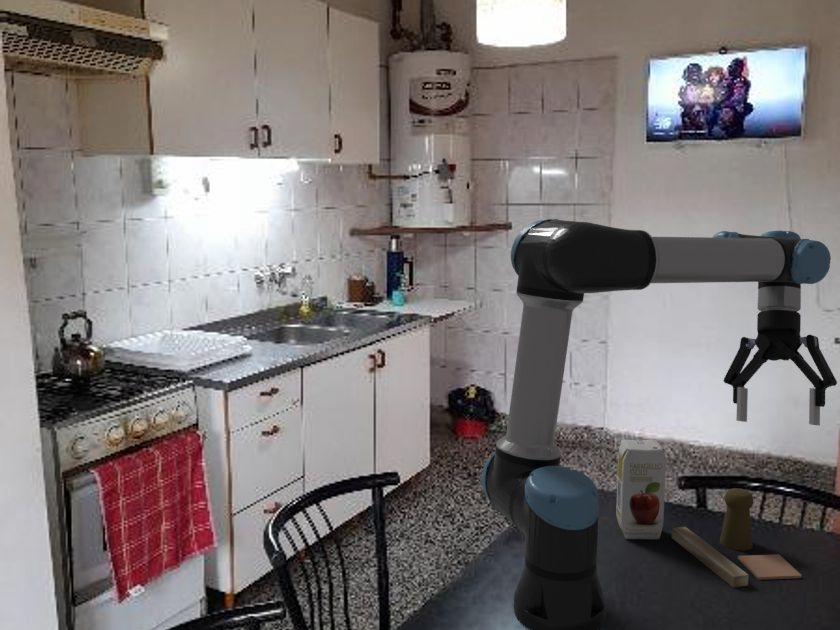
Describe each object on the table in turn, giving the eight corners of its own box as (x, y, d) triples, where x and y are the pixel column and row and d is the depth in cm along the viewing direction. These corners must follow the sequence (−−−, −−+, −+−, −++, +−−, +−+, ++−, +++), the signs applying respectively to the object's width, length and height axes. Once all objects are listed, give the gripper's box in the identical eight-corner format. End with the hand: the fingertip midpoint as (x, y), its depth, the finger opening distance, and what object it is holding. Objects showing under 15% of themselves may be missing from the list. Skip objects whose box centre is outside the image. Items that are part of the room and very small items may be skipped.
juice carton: (613, 524, 160) (616, 437, 157) (655, 525, 160) (659, 437, 156) (621, 541, 153) (625, 450, 149) (665, 541, 152) (669, 450, 149)
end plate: (758, 579, 137) (758, 577, 137) (737, 558, 145) (737, 555, 145) (801, 578, 137) (801, 575, 137) (778, 556, 145) (778, 554, 145)
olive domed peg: (755, 551, 147) (759, 497, 146) (722, 549, 149) (725, 495, 147) (749, 537, 153) (752, 486, 152) (717, 535, 155) (720, 483, 153)
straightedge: (732, 587, 135) (733, 576, 134) (671, 537, 154) (671, 528, 153) (747, 585, 135) (748, 574, 135) (684, 535, 154) (685, 526, 154)
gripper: (856, 311, 140) (856, 428, 137) (726, 318, 159) (723, 421, 155) (840, 304, 135) (839, 424, 132) (708, 312, 154) (704, 418, 151)
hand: (776, 423), depth 144 cm, fingers open, 13 cm apart
